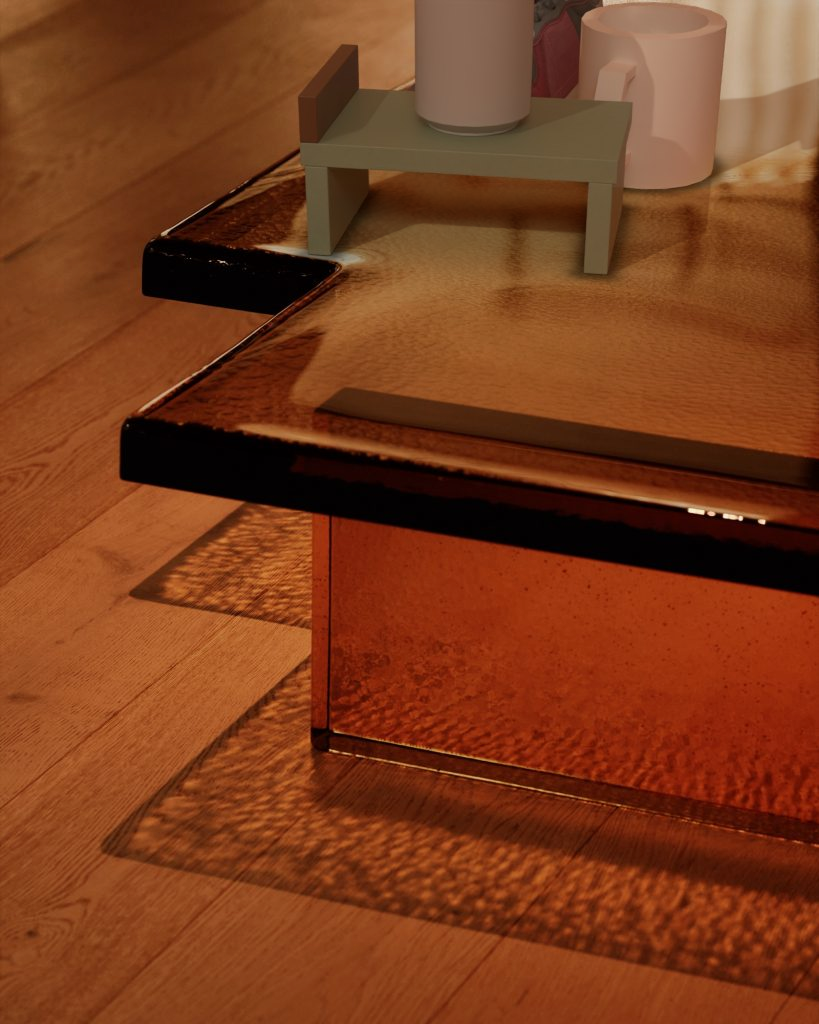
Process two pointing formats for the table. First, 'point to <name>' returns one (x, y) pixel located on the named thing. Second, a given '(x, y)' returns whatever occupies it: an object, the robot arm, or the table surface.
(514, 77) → the can
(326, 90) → the shelf
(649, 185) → the mug
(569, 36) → the sneaker
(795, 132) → the table surface
